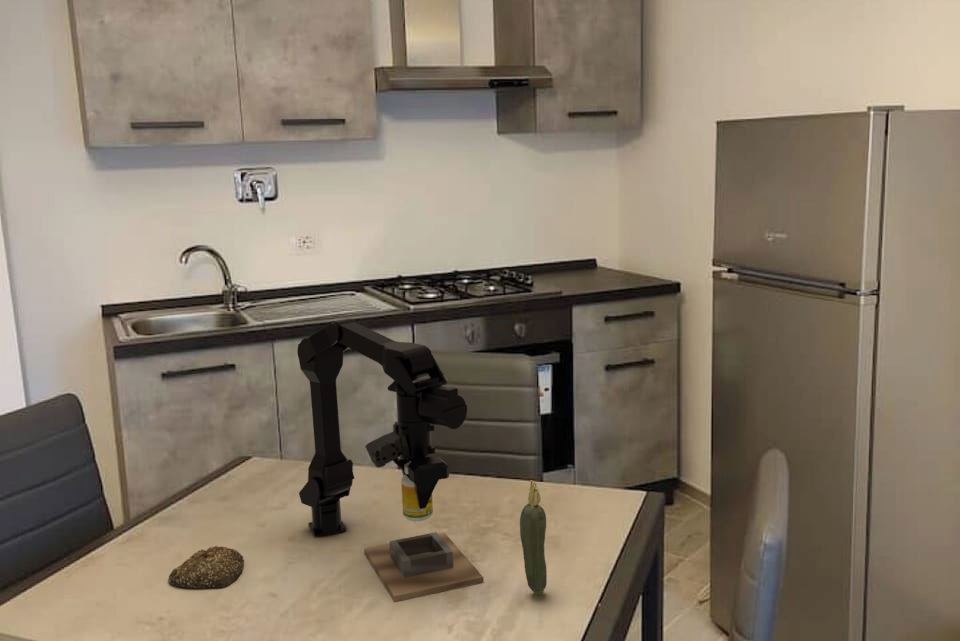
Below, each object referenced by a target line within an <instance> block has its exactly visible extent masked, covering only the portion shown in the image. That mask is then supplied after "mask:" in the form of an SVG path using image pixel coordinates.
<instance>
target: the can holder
mask: <svg viewBox="0 0 960 641" xmlns="http://www.w3.org/2000/svg"><path fill="white" fill-rule="evenodd" d="M363 551H364V552H363V553H364V555H365V556H366V558H367V560H368V561H369V563H370V565H371V566H372V568H373V569H374V571H375V573H376V574H377V576H378V577H379V579H380V581H381V583H382V584H383V586H384V587H385V589H386V590H387V592H388V594H389V595H390V597H391V599H392V600H393V601H394V603H395V602H399V601H400V602H401V601H404V600H409V599H414V598H418V597H422V596H427V595H432V594H437V593H441V592H446V591H450V590H455V589H459V588H463V587H467V586H472V585H478V584H483V583H484V576H483V575H482V574H481V573H480V571H479V570H478V569H477V568H476V567H475V565H474V564H473V563H472V562H471V560H469V559H468V557H466V555H465V554H464V553H463V552H462V551H461V550H460V549H459V547H458V546H457V545H456V544H455V543H454V541H453V540H452V539H450V537H449V536H448V534H446V532H439V533H438V532H436V531H435V532H430V533H424V534H420V535H415V536H410V537H404V538H400V539H393V540H390V541H389V542H388V543H384V544H380V545H379V544H378V545H374V546H368V547H365V548H363Z"/></svg>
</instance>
